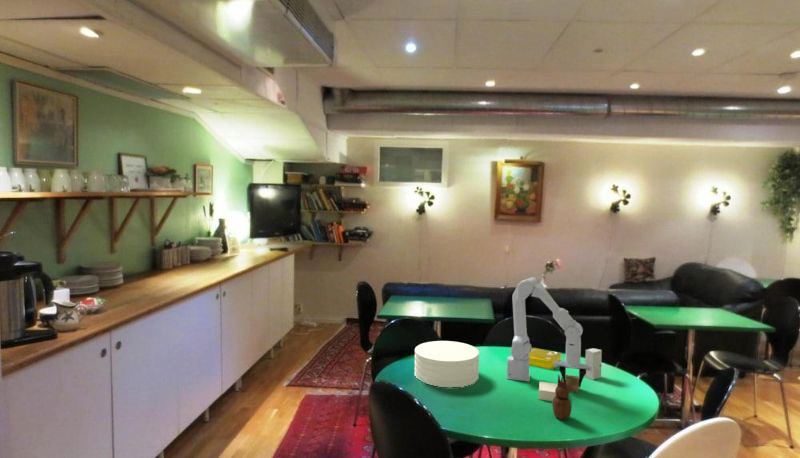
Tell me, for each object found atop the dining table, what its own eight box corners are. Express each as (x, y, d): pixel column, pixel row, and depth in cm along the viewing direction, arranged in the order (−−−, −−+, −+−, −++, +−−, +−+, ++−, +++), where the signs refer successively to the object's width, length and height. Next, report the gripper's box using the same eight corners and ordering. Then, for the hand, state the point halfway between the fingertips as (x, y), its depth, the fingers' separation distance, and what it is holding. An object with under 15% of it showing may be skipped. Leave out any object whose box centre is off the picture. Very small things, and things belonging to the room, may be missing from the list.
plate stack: (405, 382, 200) (405, 355, 199) (426, 361, 226) (426, 338, 225) (469, 393, 189) (470, 365, 189) (484, 370, 215) (485, 345, 215)
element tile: (531, 355, 237) (532, 346, 237) (562, 361, 228) (562, 352, 228) (520, 363, 225) (521, 354, 224) (552, 370, 216) (552, 360, 216)
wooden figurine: (549, 413, 172) (550, 373, 171) (565, 413, 172) (566, 372, 171) (557, 422, 165) (558, 380, 164) (573, 421, 165) (574, 379, 164)
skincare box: (593, 380, 204) (594, 352, 203) (584, 376, 208) (585, 349, 207) (601, 377, 207) (602, 350, 207) (592, 374, 211) (593, 347, 210)
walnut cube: (565, 391, 192) (565, 379, 192) (565, 386, 197) (565, 374, 196) (578, 392, 190) (578, 380, 190) (578, 388, 195) (578, 376, 195)
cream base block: (538, 400, 184) (539, 390, 184) (539, 391, 192) (539, 381, 192) (563, 403, 181) (563, 393, 181) (562, 394, 190) (562, 384, 189)
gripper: (554, 354, 191) (553, 386, 192) (592, 358, 187) (591, 391, 187) (554, 348, 198) (553, 380, 199) (591, 352, 193) (590, 385, 194)
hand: (571, 385), depth 193 cm, fingers closed on walnut cube, 5 cm apart
